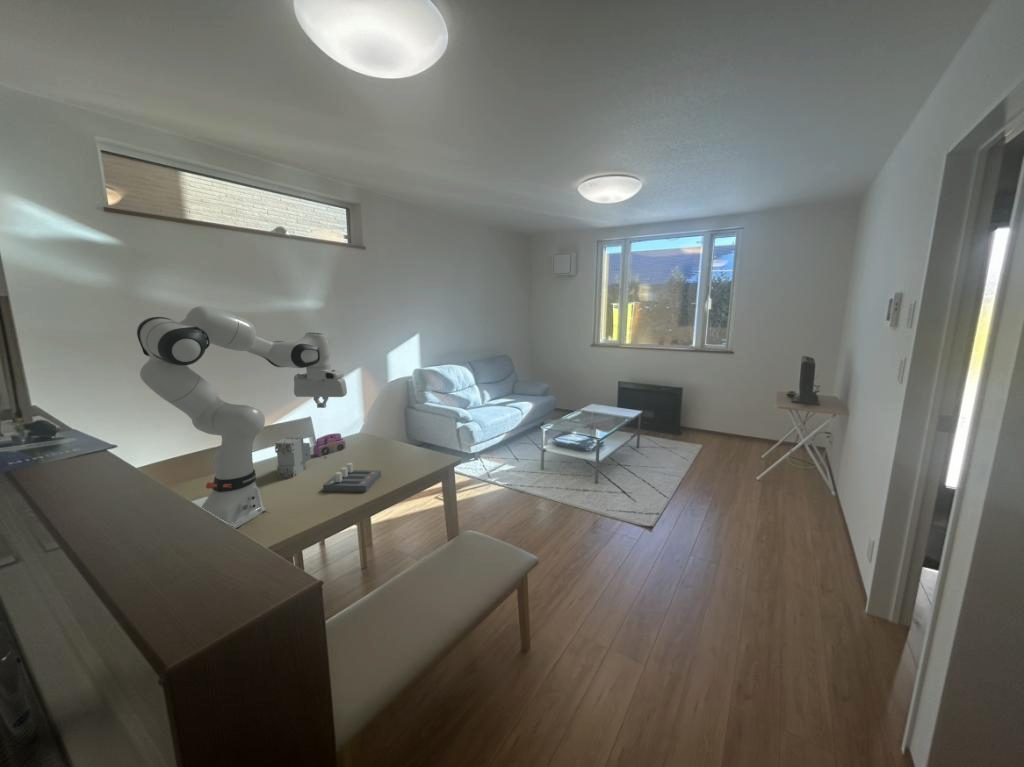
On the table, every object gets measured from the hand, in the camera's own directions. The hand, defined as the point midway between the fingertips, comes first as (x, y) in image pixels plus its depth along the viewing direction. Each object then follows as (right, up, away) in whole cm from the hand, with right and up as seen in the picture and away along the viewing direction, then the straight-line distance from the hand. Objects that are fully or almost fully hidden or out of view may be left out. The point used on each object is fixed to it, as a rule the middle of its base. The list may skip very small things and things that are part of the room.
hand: (321, 407), depth 165 cm
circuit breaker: (-19, -29, +16) cm, 38 cm away
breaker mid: (+8, -28, +2) cm, 30 cm away
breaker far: (+9, -27, +7) cm, 30 cm away
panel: (+12, -31, +3) cm, 33 cm away
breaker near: (+8, -29, -3) cm, 30 cm away
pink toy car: (-13, -25, +40) cm, 49 cm away
